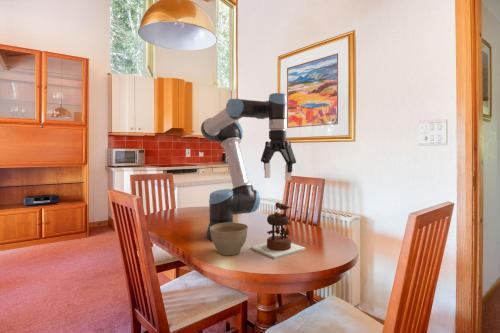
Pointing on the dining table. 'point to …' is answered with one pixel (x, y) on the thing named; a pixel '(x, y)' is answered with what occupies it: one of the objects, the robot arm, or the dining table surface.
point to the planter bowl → (229, 237)
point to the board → (276, 254)
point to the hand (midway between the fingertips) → (277, 179)
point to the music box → (279, 220)
